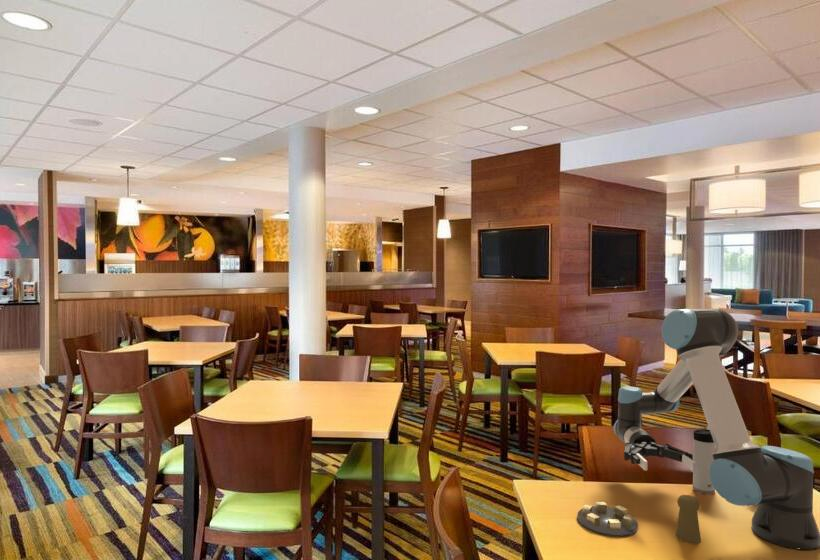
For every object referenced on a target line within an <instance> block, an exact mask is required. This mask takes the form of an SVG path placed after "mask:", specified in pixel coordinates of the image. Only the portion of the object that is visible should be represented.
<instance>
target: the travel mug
mask: <svg viewBox="0 0 820 560" xmlns="http://www.w3.org/2000/svg"><path fill="white" fill-rule="evenodd" d="M692 440H693V441H692V442H693V445H692V446H693V447H692V454H693V461H694V462H695V463H696V472H692V489H693V490H694V491H695V492H697V493H699V494H703V495H713V494H715V492H716V490H715V489H714V487H713V485H712V483H711V480H710V477H709V470H710V465H711V464H712V462H714V459H713V456H712V452H713V451H714V449H715V443H714V440H713V437H712V435H711V432H710V429H708V428H707V429H705V428H702V429H695V430H694V431H693V438H692Z"/></svg>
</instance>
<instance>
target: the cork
mask: <svg viewBox="0 0 820 560" xmlns="http://www.w3.org/2000/svg"><path fill="white" fill-rule="evenodd" d="M677 506H678V508H679V510H678V518H677V523H676V529H675V537H676V539H677V540H679V541H681V542H684V543H687V544H692V545H693V544H694V545H696V544H700V543H701V542H702V539H701V538H702V537H701V530H700V524H699V523H700V522H699V516H698V511H699V509H700V502H699V500H698V498H697V497H695V496H693V495H689V494H682V495H679V497H677Z"/></svg>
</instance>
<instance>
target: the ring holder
mask: <svg viewBox="0 0 820 560" xmlns="http://www.w3.org/2000/svg"><path fill="white" fill-rule="evenodd" d="M613 507H614V508H613ZM613 507H608V505H607V503H606V502H605V501H594V506H593V505H589V504H584V505H583V506H582V508H581V509H579V510H578V512H577V521H578V523H579V524H580V525H581V526H582V527H584V528H586V529H587V530H589V531H591V532H592V533H593V532H594V533H596V534H600V535H603V536H607V537H616V538H617V537H621V538H623V537H629V536H632V535H634V534H636V533H637V532H638V530H639V523H638V520H637V519H636V518H635V517H633V515H631V514H629V513H628V508H625V507H623V506H621V505H615V506H613Z"/></svg>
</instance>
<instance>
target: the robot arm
mask: <svg viewBox="0 0 820 560" xmlns="http://www.w3.org/2000/svg"><path fill="white" fill-rule="evenodd" d="M738 335H739V326H738V324H737V321H736V319H735V318H734V317H733V315H731V314H730V313H729V312H727V311H725V310H723V309H719V308H712V307H711V308H688V307H685V308H681V309H675V310H672V311H670V312H669V313H668V314H667V315H666V316H665V318H664V319H663V323H662V325H661V336H662V340H663V342H664V343H665V345H666V346H668V347H669V348H671V349H673V350H676V354H677V357H678V359H679V361H678V362H677V363H676V364H675V365H674V366H673V368H672V369H671V370H670V371H669V372H668V373H667V375H666V376H665V377H664V379H662V380H661V382H660V383H659V384H658V386H657V387H656V388H655V389H654V390H652V391H643V390H642V389H641V388H640V387H638V386H637V387H636V386H629V385H628V386H627V385H625V386H621V387H620V388H619V389H618V397H617V401H618V402H617V403H618V405H617V407H618V408H617V412H618V413H617V420H615V422H614V424H613V431H614V434H615V435H616V436H617V438H618V439H619V440H620V441H621V442H623V443H624V444H625V445H624V446H625V447H624V448H625V449H624V451H623V452H624V453H623V454H624V455H623V460H624V461H629V460H630V464H632V465H638V466H639V467H640V468H641V469H643V471H648V460H646V458H649V457H651V456H652V457H658V458H662V459H664V458H667V459H670V460H673V461H677V462H680V463H681V464H682V465H683V466H684V467H686V468H687V469H688V470H689V471H691V472H692V473H693V472H696V463H695V462H694V461H693V453H690V452H688V451H686V450H683V449H680V448H677V447H674V446H672V445H671V444H668V443H665V444H664V445H661V444H658V443H657V441H656V439H655V438H654V437H653V436H652V435H650V433H648V432H647V431H645V430H644V429H643V428H642V415H651V414H652V415H653V414H655V415H656V414H669V413H674V412H676V411H677V410H678V409H679V407H680V404H681V403H680V398H681V397H682V396H683V395H684V394H685V393H686V392H687V391H688V390H689V389H690V387H692V386H694V389H695V391H696V394H697V397H698V400H699V403H700V405H701V409H702V411H703V414H704V417H705V420H706V422H707V423H706V424H707V425H708V430H710V432H711V435H712V437H713V440H714V443H715V449H714V451H713V452H712V456H713V459H714V462H712V464H711V465H710V470H709V477H710V480H711V483H712V485H713V487H714V489H715V492H716V493H717V494H718V495H719V496H720V497H721V498H723V499H724V500H725V501H726V502H728V503H730V504H731V505H733V506H734V505H735V506H738V507H740V506H742V507H743V506H747V507H750V506H752V507H753V506H756V505H757V507H756V509H755V511H754V513H753V515H752V518H751V530H752V532H753V533H754V534H756V535H757V537H760V538H761V539H763V540H765V541H767V542H770V543H772V544H775V545H778V546H781V547H784V546H785V547H786V548H788V547H790V548H789V549H793V548H800V549H813V550H816V549H815V548H817V549H819V548H820V530H819V527H818V525H817V521H816V518H815V516H814V514H813V513H814V511H813V509H814V507H813V505H814V503H813V502H814V474H815V471H814V463H813V460H812V459H811V458H810V456H808V455H806V454H804V453H801V452H799V451H795V450H792V449H789V448H783V447H779V446H773V445H761V446H759V445H758V444H756V443H755V442H754V441H752V440H751V438H750V437H751V436H750V435H749V432H748V430H747V427H746V424H745V421H744V419H743V417H742V414H741V410H740V408H739V405H738V402H737V401H736V397H735V395H734V392H733V390H732V387H731V384H730V381H729V379H728V377H727V374H726V371H725V368H724V367H723V363H722V361H721V358H720V357H724V356H725V355H726V354H727V353H729V351H730V350H731V349H732V347H733V346H734V345H735V343H736V342H737V339H738ZM818 547H819V548H818ZM800 549H799V550H800Z"/></svg>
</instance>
